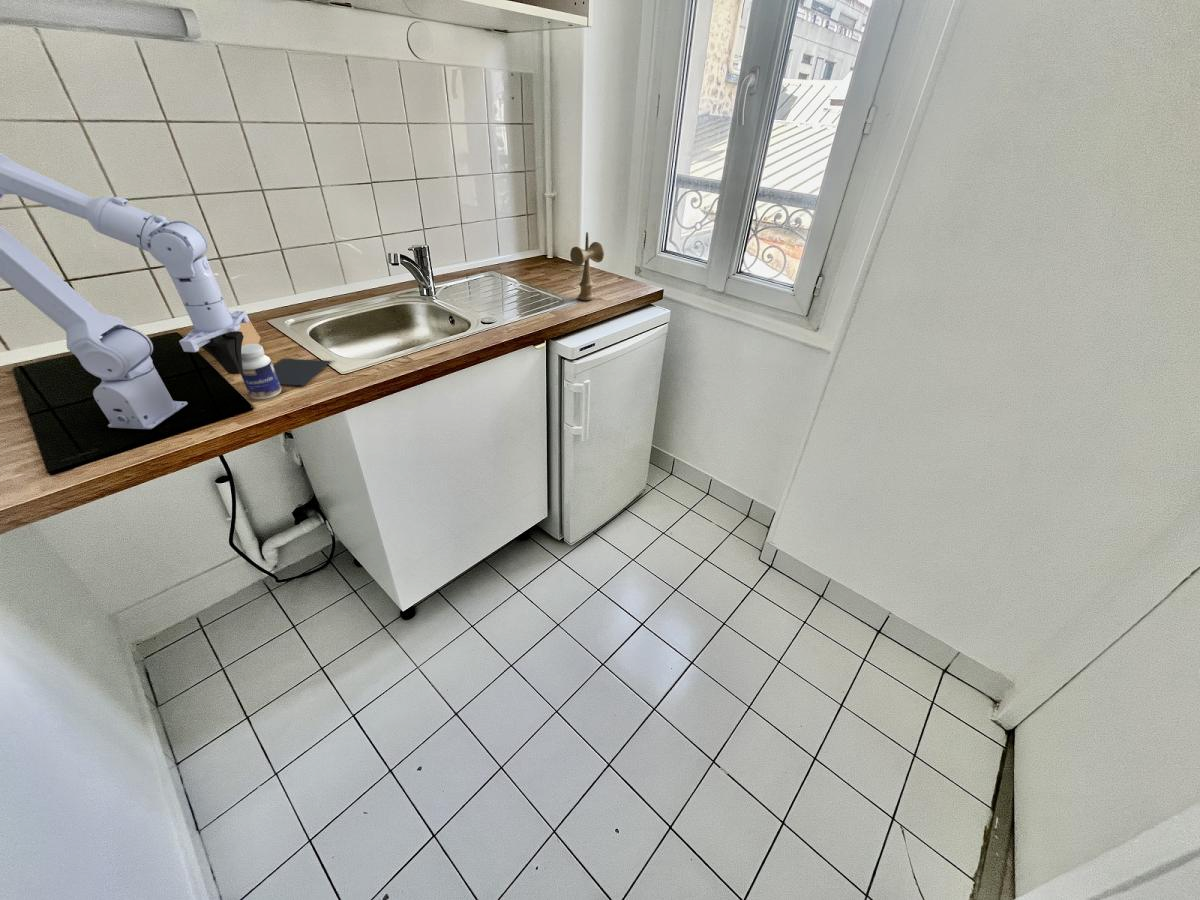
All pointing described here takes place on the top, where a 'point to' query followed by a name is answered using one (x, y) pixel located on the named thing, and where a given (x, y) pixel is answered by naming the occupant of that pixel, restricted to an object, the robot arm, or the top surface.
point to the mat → (297, 371)
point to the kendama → (586, 265)
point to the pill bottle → (258, 373)
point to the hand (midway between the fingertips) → (235, 372)
